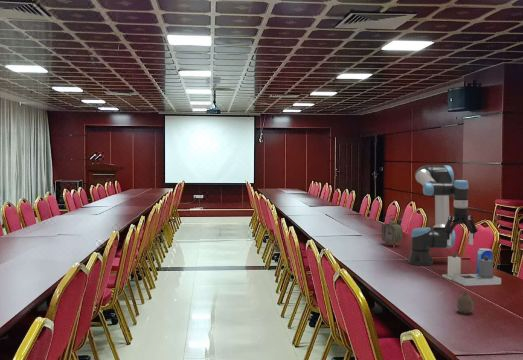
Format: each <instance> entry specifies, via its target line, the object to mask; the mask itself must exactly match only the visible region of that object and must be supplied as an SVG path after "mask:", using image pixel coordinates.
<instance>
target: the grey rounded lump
mask: <svg viewBox="0 0 523 360" xmlns="http://www.w3.org/2000/svg"><path fill="white" fill-rule="evenodd" d="M456 309H457V311H458V312H459V313H461V314H465V315H466V314H467V315H468V314H471V313H472V311H473V309H474V301H473V299H472V298H471V296H470V295H469V292H464V291H463V292H461V294H460V295H459V296H458V298H457V299H456Z"/></svg>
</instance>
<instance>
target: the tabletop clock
mask: <svg viewBox="0 0 523 360" xmlns="http://www.w3.org/2000/svg"><path fill="white" fill-rule="evenodd" d="M391 216H392V217H394V218H391ZM388 218H389V222H388V223H383V224H382V227H381V239H382V241H383V242H385V243H384V244H383V245H384V246H387V244H393V245H392V248H394V249H395V247H396V243H400V242H402V239H403V227H402V226H401V225H400V224H398V223H396V221H395V220H396V216H395V215H394V214H390V215H389V217H388Z"/></svg>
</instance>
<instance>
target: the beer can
mask: <svg viewBox="0 0 523 360" xmlns="http://www.w3.org/2000/svg"><path fill="white" fill-rule="evenodd" d="M484 256H488V260H492V261H493V260H494V253H493V251H492V249H491V248H487V247H486V248H485V247H484V248H481V247H480V248H478V250H477V252H476V274H479V259H484ZM493 262H494V261H493Z"/></svg>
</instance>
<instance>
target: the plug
mask: <svg viewBox="0 0 523 360" xmlns="http://www.w3.org/2000/svg"><path fill="white" fill-rule="evenodd" d="M461 271H462V258H461V256H460V257H459V256H457V253H456V252H452V256H450V255H449V256H447V274H448V277H450V278H453V275H459V274H462V273H461Z"/></svg>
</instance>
